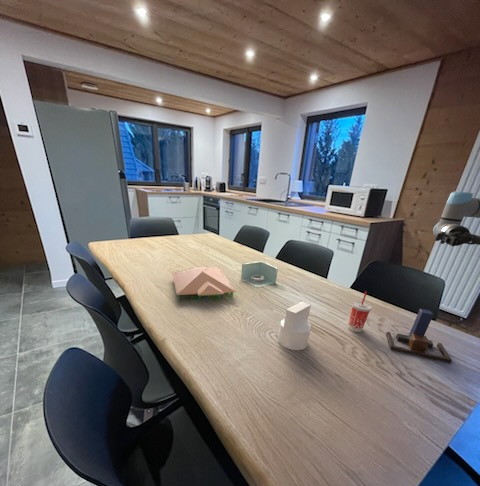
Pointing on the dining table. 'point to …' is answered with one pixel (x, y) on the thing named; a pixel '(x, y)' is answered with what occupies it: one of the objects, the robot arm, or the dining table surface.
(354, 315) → the beverage cup
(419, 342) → the orange brown cube
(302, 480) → the dining table surface
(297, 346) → the base with upright slab
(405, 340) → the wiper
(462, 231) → the robot arm
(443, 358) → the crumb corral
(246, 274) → the right angle wall
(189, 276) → the house
